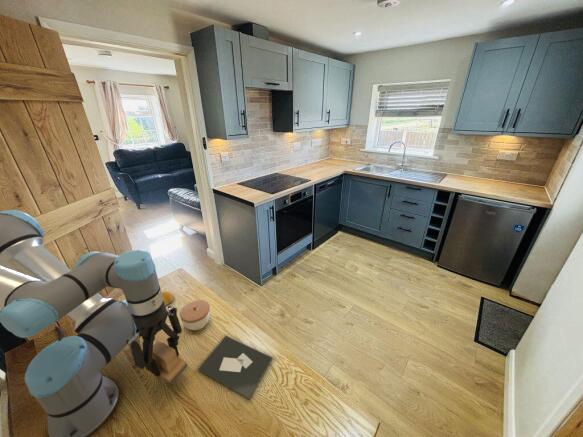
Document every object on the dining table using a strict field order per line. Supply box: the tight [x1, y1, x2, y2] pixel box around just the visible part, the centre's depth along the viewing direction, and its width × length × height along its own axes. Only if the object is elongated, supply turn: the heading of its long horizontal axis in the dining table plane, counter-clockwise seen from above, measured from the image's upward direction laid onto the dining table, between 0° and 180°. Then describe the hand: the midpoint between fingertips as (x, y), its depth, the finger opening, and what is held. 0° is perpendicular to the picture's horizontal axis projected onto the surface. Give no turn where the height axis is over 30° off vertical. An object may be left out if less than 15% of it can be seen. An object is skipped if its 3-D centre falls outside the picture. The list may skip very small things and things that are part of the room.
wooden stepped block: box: [152, 339, 188, 386], centre depth 70 cm, size 10×6×8 cm, turn 65°
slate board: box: [197, 335, 273, 400], centre depth 79 cm, size 20×14×1 cm
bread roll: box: [161, 290, 174, 307], centre depth 104 cm, size 8×9×4 cm
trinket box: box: [179, 299, 211, 331], centre depth 93 cm, size 11×11×9 cm
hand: (165, 363), depth 71 cm, fingers closed on wooden stepped block, 6 cm apart
